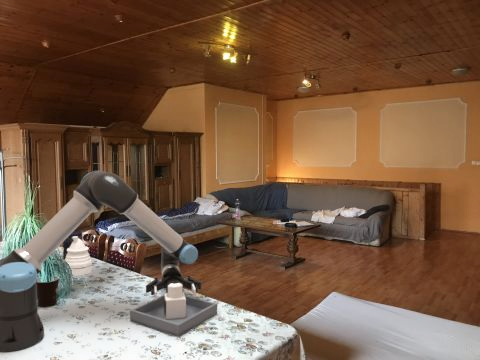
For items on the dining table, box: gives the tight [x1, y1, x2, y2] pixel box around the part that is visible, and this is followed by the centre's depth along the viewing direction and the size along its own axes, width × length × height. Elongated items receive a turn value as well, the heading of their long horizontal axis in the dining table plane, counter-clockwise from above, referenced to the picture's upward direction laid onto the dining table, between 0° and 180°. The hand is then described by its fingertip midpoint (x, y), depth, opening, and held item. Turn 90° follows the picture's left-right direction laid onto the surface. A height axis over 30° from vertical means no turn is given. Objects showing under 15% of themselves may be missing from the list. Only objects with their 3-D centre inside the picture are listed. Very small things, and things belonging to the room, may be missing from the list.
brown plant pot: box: [37, 275, 60, 308], centre depth 155 cm, size 12×9×10 cm
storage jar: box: [62, 230, 83, 259], centre depth 217 cm, size 10×10×15 cm
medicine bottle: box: [163, 281, 186, 320], centre depth 143 cm, size 7×7×12 cm
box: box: [129, 294, 218, 338], centre depth 143 cm, size 22×22×4 cm
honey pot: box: [65, 236, 93, 277], centre depth 194 cm, size 13×13×18 cm
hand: (175, 294), depth 140 cm, fingers open, 13 cm apart
